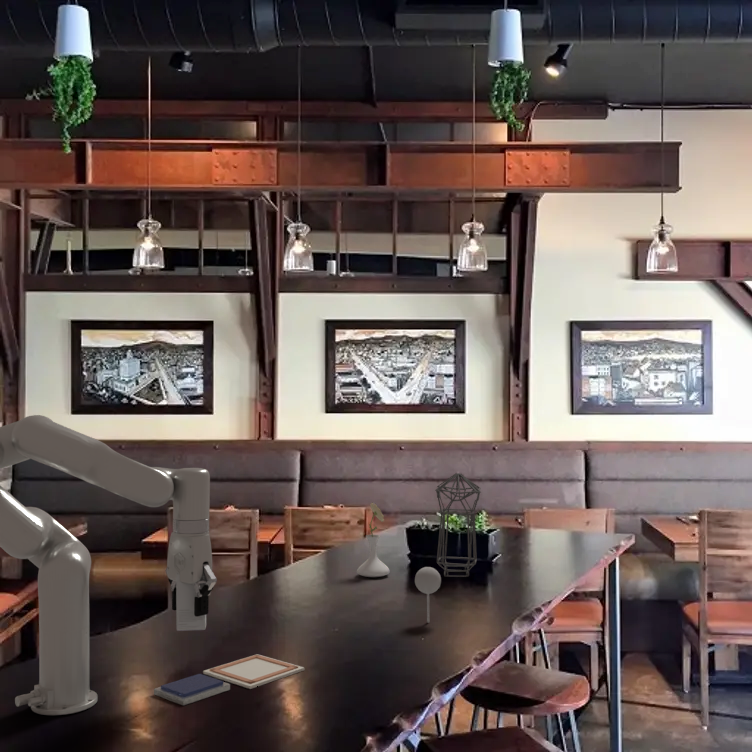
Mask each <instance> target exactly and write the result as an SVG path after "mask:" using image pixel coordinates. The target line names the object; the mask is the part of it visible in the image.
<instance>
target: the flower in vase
mask: <svg viewBox="0 0 752 752" xmlns="http://www.w3.org/2000/svg"><path fill="white" fill-rule="evenodd" d="M369 506H370V509H371V511H372V513H373V515H372V518H371V521H370V523H368V525H369V528H370V532H371V533H370V534H366V535H365V537H366V539H367V541H368V545H369V556H368V558H367V560H365V561H364V562H363V563H362V564H361V565H360V566H359V567H358V568H356V569H357V570H356V573H357V574H358V575H360V576H362V577H366V578H367V577H368V578H379V577H384V576H386V575H388V574H389V573H390V568H389V567H388V566H387V565H386V564H385V563H384V562H383V561H381V560H380V559H379V557H378V555H377V545H378V541H379V539H380V537H381V535H380V534H373V532H374V531H375V530H377V529H378V527H377V526H376V525H375V526H374V527H373V529H372V523H373V521H374V520H373V519H374V517H376V518H377V520H379V521H380V522H381V523H383V522H385V519H384V518H385V515H383V512H382V510H381V508H379V507H378V505H377V504H376V503H374V502H371V503H370V504H369Z"/></svg>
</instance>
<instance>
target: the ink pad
mask: <svg viewBox="0 0 752 752" xmlns="http://www.w3.org/2000/svg"><path fill="white" fill-rule="evenodd" d="M230 690H231V683H230V682H227V681H225V682H224V680H221V679H218V678H215V677H212V676H209V675H206V674H202V673H196V674H194V675H191V676H188V677H185V678H182V679H181V678H180V679H179V680H176V681H172V682H169V683H166V684H165V683H164V684H162V685H160V686H159V687H155V688H153V695H154V696H157V697H159V698H162V699H166V700H168V701H170V702H172V703H175V704H178V705H181V706H187V705H189V704H192V703H196V702H198V701H201V700H204V699H207V698H210V697H213V696H215V695H219V694H221V693H224V692H227V691H230Z"/></svg>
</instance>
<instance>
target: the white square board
mask: <svg viewBox="0 0 752 752" xmlns="http://www.w3.org/2000/svg"><path fill="white" fill-rule="evenodd" d="M303 671H306V669H305V667H304V666H301V665H298V664H294V663H289V662H287V661H283V660H280V659H276V658H273V657H270V656H265V655H261V654H257V653H256V654H254V655H250V656H247V657H244V658H240V659H237V660H234V661H231V662H228V663H224V664H221V665H217V666H214V667H211V668H208V669H205V670H203V671H202V673H203V674H202V675H205V676H209V677H212V678H215V679H218V680H221V681H223V682H224V681H225V682H226V683H229V684H234V685H237V686H240V687H242V688H246V689H249V690H251V689H255V688H257V686H258V687H261V686H264V685H265V684H269V683H271V682H275V681H278V680H280V679H284V678H286V677H289V676H291V675H296V674H298V673H301V672H303Z"/></svg>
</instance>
